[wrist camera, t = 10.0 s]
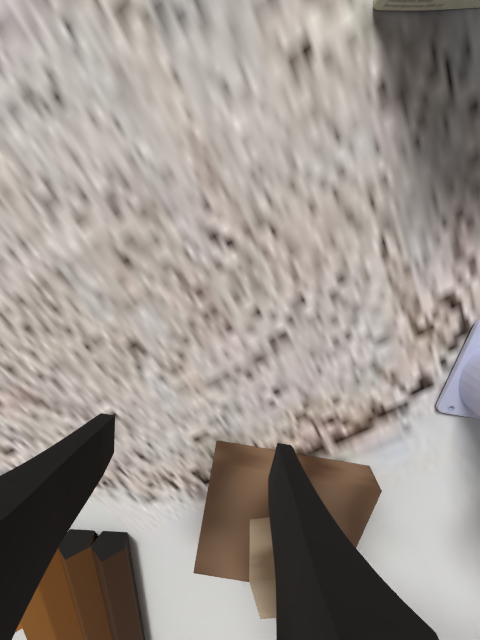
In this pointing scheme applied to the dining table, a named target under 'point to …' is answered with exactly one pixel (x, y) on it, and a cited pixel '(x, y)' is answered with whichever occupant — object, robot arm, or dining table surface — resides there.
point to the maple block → (262, 567)
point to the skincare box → (424, 4)
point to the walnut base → (252, 503)
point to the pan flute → (86, 592)
